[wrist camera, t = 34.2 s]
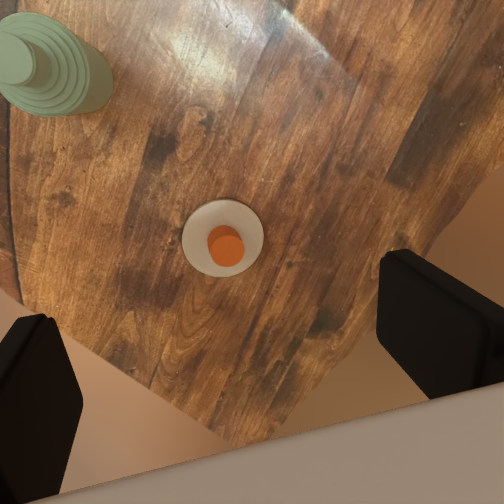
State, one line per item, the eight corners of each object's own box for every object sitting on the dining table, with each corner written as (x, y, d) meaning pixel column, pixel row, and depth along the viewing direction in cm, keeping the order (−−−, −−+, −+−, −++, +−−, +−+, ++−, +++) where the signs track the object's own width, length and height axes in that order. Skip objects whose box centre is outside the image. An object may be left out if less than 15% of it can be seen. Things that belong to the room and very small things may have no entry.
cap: (239, 223, 44) (245, 233, 41) (239, 254, 45) (245, 266, 42) (206, 225, 43) (209, 235, 40) (207, 256, 45) (210, 269, 41)
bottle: (54, 116, 36) (-34, 127, 21) (33, 43, 34) (-87, -9, 18) (120, 109, 37) (84, 114, 22) (104, 37, 35) (50, -16, 19)
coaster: (188, 280, 46) (189, 283, 45) (175, 204, 42) (175, 206, 41) (265, 267, 48) (266, 269, 47) (258, 192, 44) (260, 194, 43)
